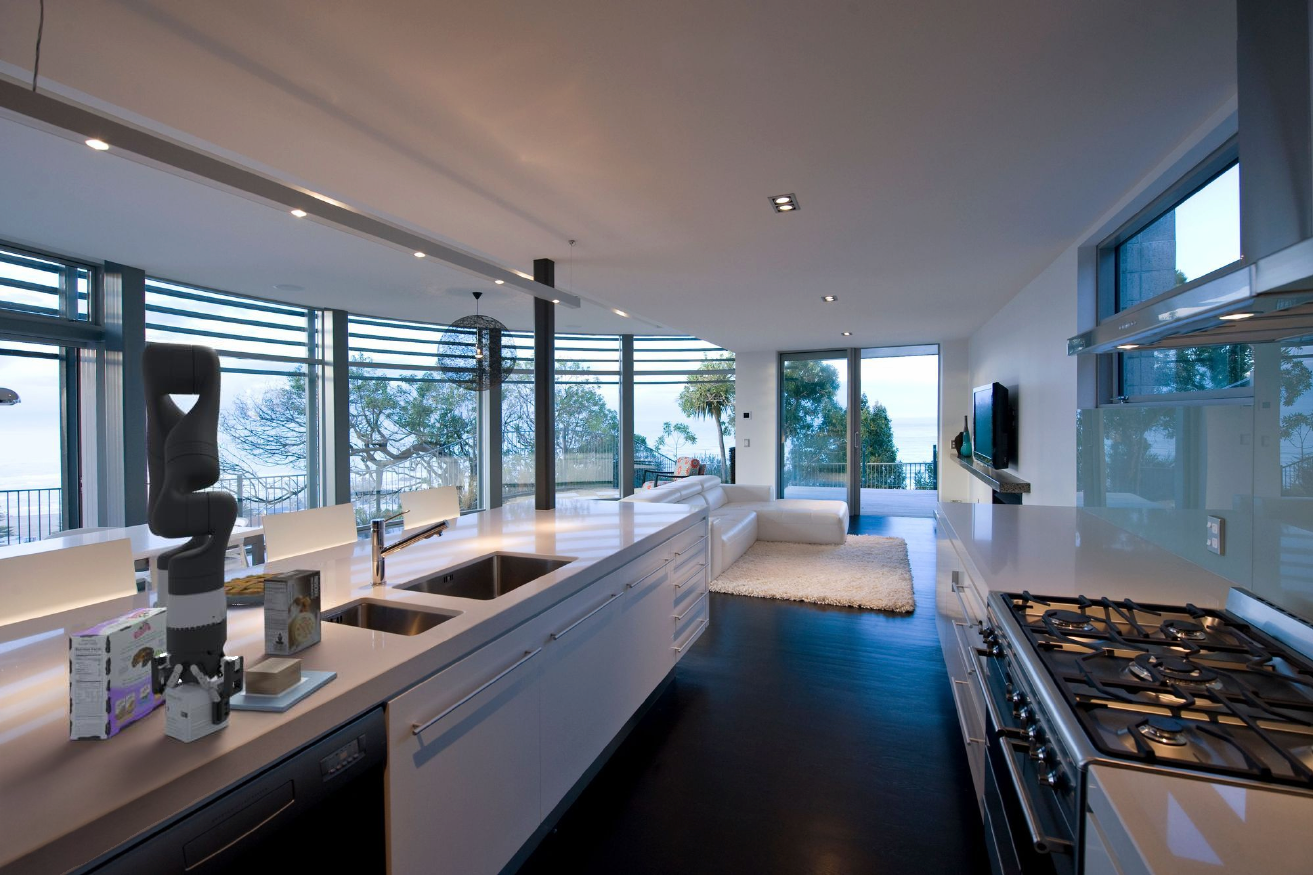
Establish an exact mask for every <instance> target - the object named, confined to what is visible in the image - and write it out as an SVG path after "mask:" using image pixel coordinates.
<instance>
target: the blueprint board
mask: <svg viewBox="0 0 1313 875" xmlns="http://www.w3.org/2000/svg"><path fill="white" fill-rule="evenodd" d="M337 677H338V672H337V671H319V670H304V669H303V670H302V669H301V681H300V682H298V683H296V684H295V685H293V686H291V687H290V688H288V689H286V690H285V691H283V692H281V693H280V694H278V695H262V694H245V682H243V690H242V691H241V692H239V693H237V694H235V695H234V696H232V697H230V710H231V709H232V710H244V711H245V710H247V711H248V710H250V711H251V710H252V711H267V712H269V711H270V712H285V711H287V710H288V709H290V708H292V707H293V706H294V705H296V704H297V703H299V702H301V701H302V700H304V699H305V698H306V697H308V696H309V695H311V694H313V693H314V692H315V691H317V690H319V689H320V688H322V687H323V686H325V685H326V684H328V683H329V682H331V681H332V680H334V679H335V678H337Z"/></svg>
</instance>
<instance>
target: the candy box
mask: <svg viewBox="0 0 1313 875" xmlns="http://www.w3.org/2000/svg"><path fill="white" fill-rule="evenodd" d="M68 650H69V652H68V654H69V655H68V656H69V657H68V663H69V665H68V666H69V669H68V670H69V672H68V673H69V676H68V677H69V680H68V681H69V684H68V685H69V740H70V741H71V740H72V741H73V740H78V741H81V740H82V741H83V740H108V739H110V738H111V737H113V736H115V735H117V734H118V733H120V732H121V731H122V730H124V729H125V728H128V727H130V726H131V725H132V724H133V723H135V722H137V721H138V720H140V719H142V718H143V717H145V716H146V715H148V714H150V712H153V711H154V710H156V709H158V708H159V707H160V706H162V705H164V704H165V699H164V698H163V696H162V695H161V694H157V695H154V694H153V693H152V678H151V659H152V658H153V657H155V656H158V655H160V654H163V653H165V652H167V650H166V607H156V608H153V607H139V608H137V609H134V610H131V611H129V612H126V613H124V614H122V615H119V616H116V617H114V618H111V619H108V620H107V621H103V622H101V623H99V624H96V625H94V626H91V627H89V628H85V629H83V630H81V631H78V632H76V633H73V634H71V635H69V636H68ZM173 672H174V671H173ZM163 683H164V680H163V677H162V679H161V684H163Z"/></svg>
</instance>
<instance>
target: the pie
mask: <svg viewBox="0 0 1313 875" xmlns="http://www.w3.org/2000/svg"><path fill="white" fill-rule="evenodd" d="M283 573H284V572H277V573H269V572H268V573H267V572H266V573H262V574H249V575H246V576H244V577H234V578H232V579H230V580H229V581H225V585H224V586H225V593H226V598H227V604H236V605H235V606H238V605H237V604H255V605H261V604H260V603H264V580H263V579H266V578H270V577H273V576H276V575H280V574H283Z"/></svg>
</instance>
